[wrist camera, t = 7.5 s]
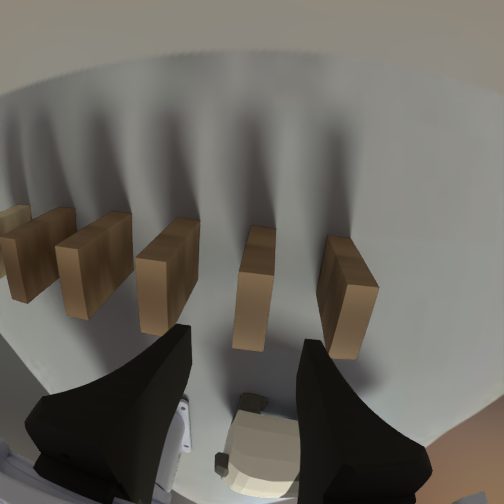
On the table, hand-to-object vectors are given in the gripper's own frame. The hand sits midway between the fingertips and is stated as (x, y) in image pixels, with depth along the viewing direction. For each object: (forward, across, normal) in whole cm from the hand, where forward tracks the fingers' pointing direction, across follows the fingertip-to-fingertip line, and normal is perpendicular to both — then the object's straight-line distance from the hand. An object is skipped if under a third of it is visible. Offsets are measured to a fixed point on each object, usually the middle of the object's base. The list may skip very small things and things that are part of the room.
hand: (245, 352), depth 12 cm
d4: (+10, +10, 0) cm, 14 cm away
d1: (+10, -5, 0) cm, 11 cm away
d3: (+10, +5, 0) cm, 11 cm away
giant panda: (+10, -5, +16) cm, 20 cm away
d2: (+10, 0, 0) cm, 10 cm away
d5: (+10, +15, 0) cm, 18 cm away
